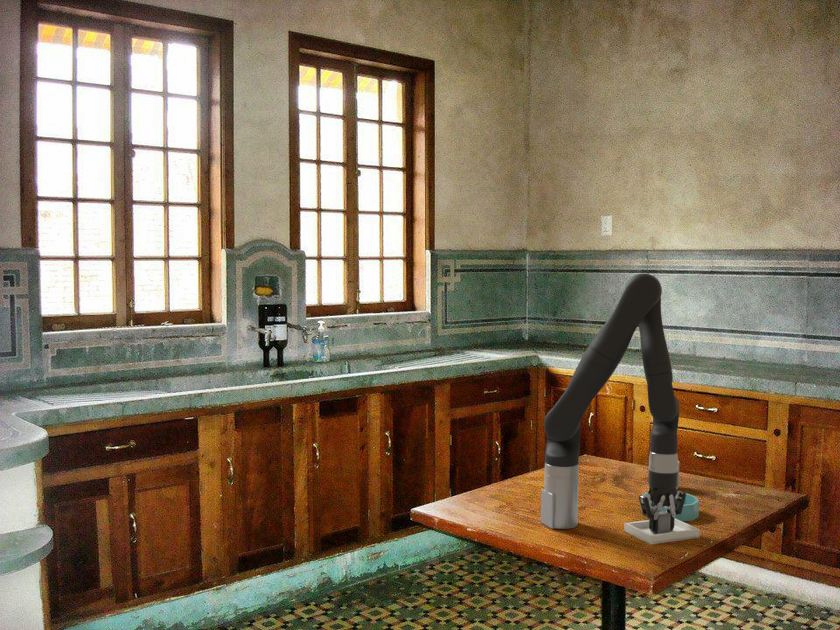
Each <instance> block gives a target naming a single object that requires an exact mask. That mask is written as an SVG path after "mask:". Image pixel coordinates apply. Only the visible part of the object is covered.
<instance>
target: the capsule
mask: <svg viewBox="0 0 840 630" xmlns="http://www.w3.org/2000/svg"><path fill="white" fill-rule="evenodd" d="M657 520H658V532H657V533H656V534H662V533H669V532H670V520H671V514H670V513H668V512H662V511H660V512H659V514H658V518H657Z"/></svg>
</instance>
